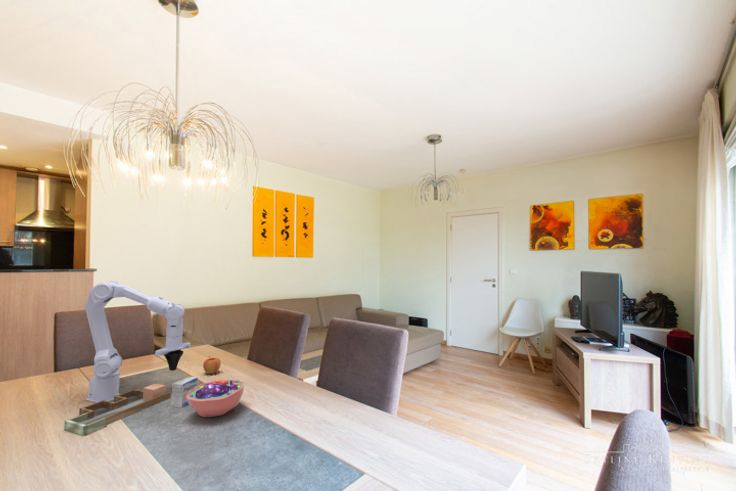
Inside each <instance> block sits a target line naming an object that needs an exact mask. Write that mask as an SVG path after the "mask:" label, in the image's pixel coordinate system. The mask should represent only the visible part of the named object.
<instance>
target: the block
mask: <svg viewBox="0 0 736 491" xmlns="http://www.w3.org/2000/svg"><path fill="white" fill-rule="evenodd" d="M142 391H143V400H144V401H147V400H150V399H152V398H155V397H157V396H160V395H162V394H164V393H166V385H165V384H160V383H153V384H150V385H148V386H144V387H143V389H142Z"/></svg>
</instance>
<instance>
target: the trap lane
mask: <svg viewBox="0 0 736 491" xmlns="http://www.w3.org/2000/svg"><path fill="white" fill-rule="evenodd" d="M170 399H172V391H167V392H165V393H164V394H162V395H160V396H157V397H155V398H152V399H150V400H147V401H144V400H143V389H138V388H133V389H131V390H128V391H125V392H122V393H119V395H116V396H114V400H113V401H112V400H111V401H107V400H102V401H100V402H94V403H92V404H88V405H86V406H83V407H81V408H79V410H78V411H79V412H78V414H79V415H77V416H75V417H71V418H69V419H65V420H64V428H63V429H64V430H65V431H67V432H70V433H74V434H76V435H80V436H84V437H85V436H88V435H90V434H92V433H95V432H97V431H99V430H102V429H104V428H106V427H108V425H110V424H112V423H115V422H116V421H120V420H121V419H124V418H127V417H128V416H131V415H134V414H136V413H139V412H141V411H143V410H145V409H148V408H150V407H152V406H155V405H157V404H160V403H162V402H165V401H166V400H170Z"/></svg>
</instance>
